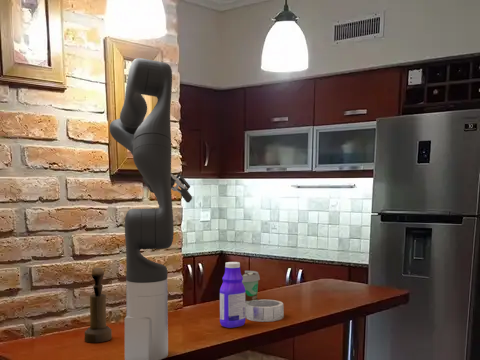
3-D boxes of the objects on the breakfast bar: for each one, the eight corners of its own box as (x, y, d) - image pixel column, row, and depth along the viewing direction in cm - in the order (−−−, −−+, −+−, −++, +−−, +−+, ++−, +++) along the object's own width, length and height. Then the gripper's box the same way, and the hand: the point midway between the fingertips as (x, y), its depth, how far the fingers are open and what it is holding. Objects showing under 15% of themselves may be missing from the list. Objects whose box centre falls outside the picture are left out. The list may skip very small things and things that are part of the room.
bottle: (236, 321, 145) (235, 260, 146) (249, 325, 141) (248, 262, 142) (216, 326, 141) (215, 262, 141) (229, 330, 136) (228, 264, 137)
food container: (257, 307, 163) (256, 276, 163) (238, 307, 164) (237, 275, 165) (263, 299, 175) (262, 270, 175) (245, 299, 176) (245, 270, 177)
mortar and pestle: (101, 334, 134) (101, 265, 134) (116, 338, 129) (116, 267, 130) (79, 340, 128) (79, 268, 129) (94, 344, 124) (94, 270, 125)
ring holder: (277, 322, 143) (276, 308, 143) (240, 320, 147) (240, 306, 147) (287, 314, 154) (287, 300, 154) (252, 311, 157) (252, 298, 157)
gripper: (139, 152, 146) (167, 191, 139) (175, 154, 157) (203, 191, 150) (127, 171, 149) (154, 210, 142) (163, 172, 160) (190, 209, 153)
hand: (179, 200), depth 146 cm, fingers open, 8 cm apart
